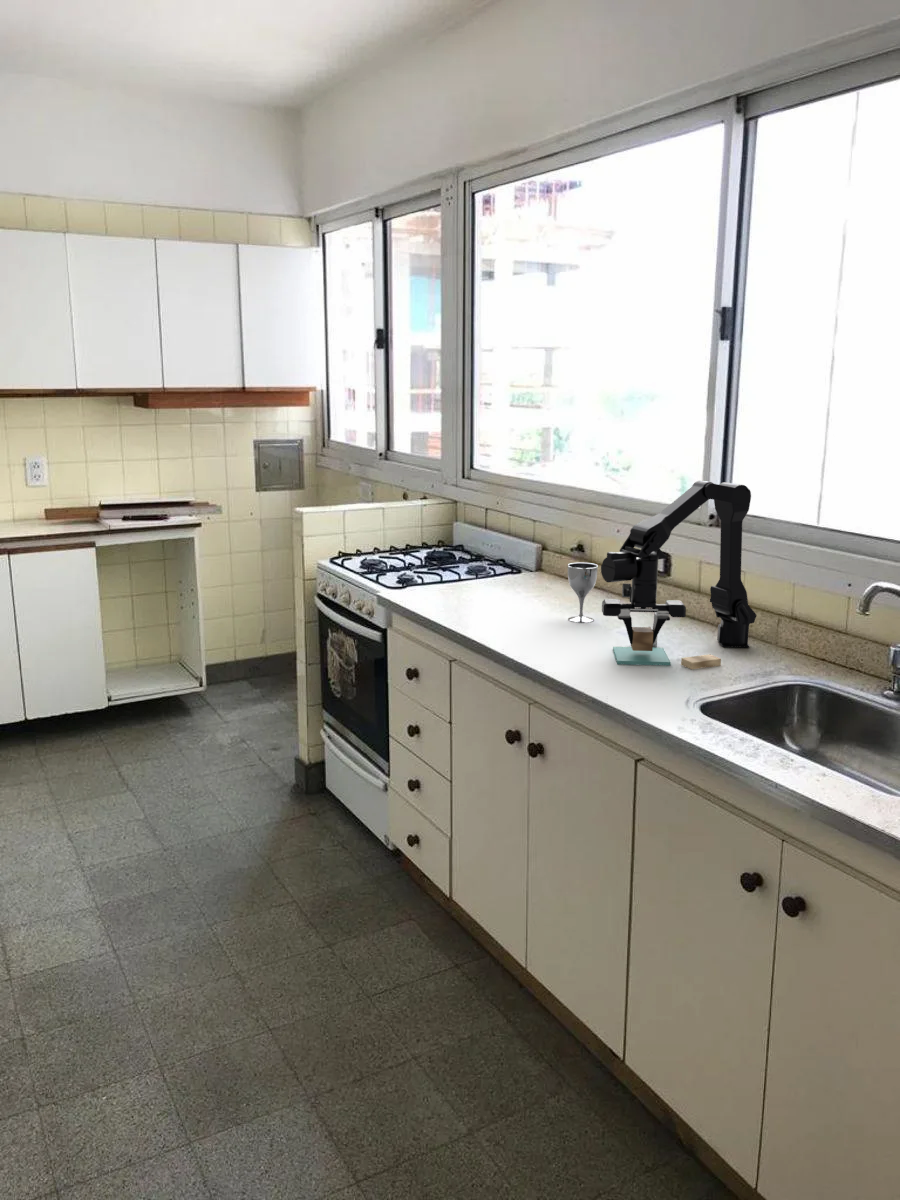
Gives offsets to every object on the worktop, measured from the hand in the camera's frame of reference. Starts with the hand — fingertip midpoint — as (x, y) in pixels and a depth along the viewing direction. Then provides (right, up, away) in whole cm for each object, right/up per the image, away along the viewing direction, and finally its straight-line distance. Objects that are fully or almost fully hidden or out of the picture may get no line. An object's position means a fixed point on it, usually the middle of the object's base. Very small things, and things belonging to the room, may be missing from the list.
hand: (641, 643), depth 228 cm
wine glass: (-9, +5, +36) cm, 37 cm away
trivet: (0, -3, +1) cm, 3 cm away
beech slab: (+13, -5, -5) cm, 14 cm away
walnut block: (0, -1, 0) cm, 1 cm away
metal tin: (+3, -1, +10) cm, 11 cm away
